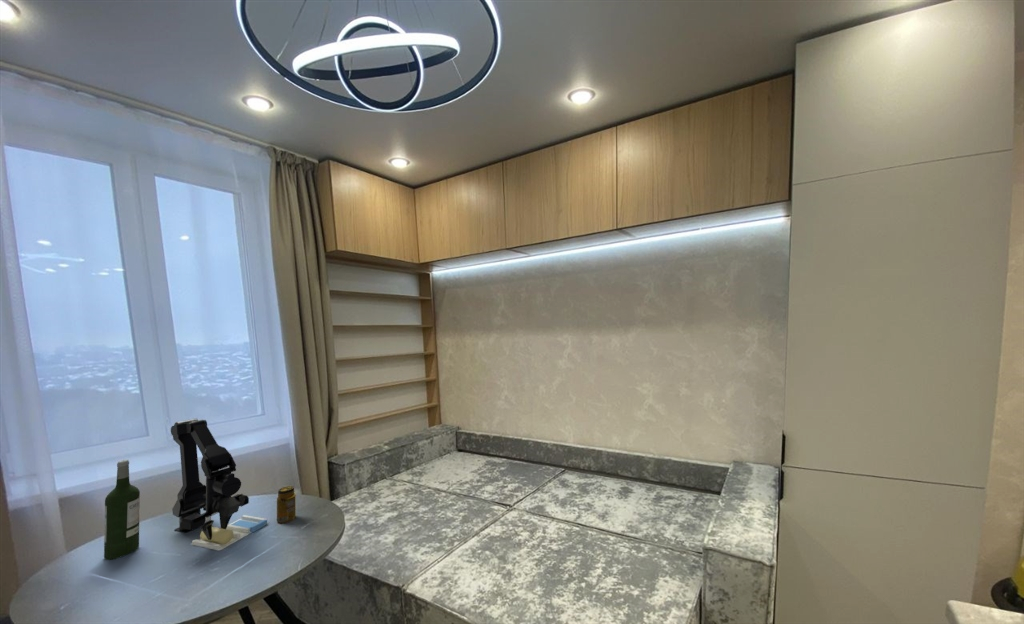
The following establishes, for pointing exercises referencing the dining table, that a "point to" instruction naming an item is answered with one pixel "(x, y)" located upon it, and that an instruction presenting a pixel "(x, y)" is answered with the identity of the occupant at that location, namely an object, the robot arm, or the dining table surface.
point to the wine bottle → (121, 516)
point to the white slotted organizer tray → (235, 532)
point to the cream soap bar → (219, 535)
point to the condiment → (286, 505)
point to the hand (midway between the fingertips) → (216, 536)
